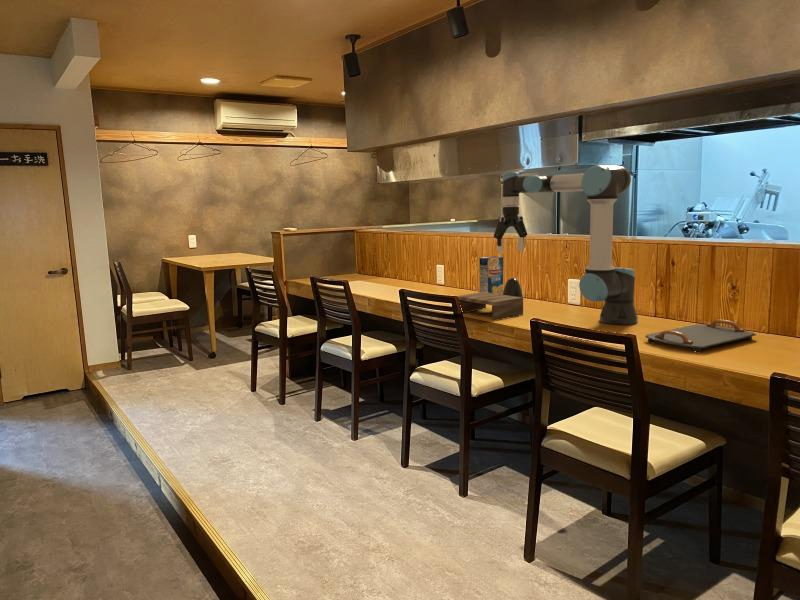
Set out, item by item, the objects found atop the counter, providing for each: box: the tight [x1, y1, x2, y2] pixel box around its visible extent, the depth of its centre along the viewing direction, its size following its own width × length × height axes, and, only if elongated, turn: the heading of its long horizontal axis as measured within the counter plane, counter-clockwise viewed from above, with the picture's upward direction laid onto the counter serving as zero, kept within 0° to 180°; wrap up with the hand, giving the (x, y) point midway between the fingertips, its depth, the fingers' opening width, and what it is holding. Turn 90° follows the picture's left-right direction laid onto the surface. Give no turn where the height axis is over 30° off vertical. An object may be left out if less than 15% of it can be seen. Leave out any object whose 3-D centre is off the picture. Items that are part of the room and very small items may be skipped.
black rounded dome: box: [503, 277, 524, 299], centre depth 290 cm, size 10×10×15 cm
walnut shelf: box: [456, 291, 524, 321], centre depth 280 cm, size 26×18×8 cm
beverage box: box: [478, 256, 504, 295], centre depth 324 cm, size 7×11×22 cm, turn 124°
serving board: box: [644, 319, 757, 353], centre depth 218 cm, size 39×23×6 cm, turn 121°
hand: (510, 252), depth 282 cm, fingers open, 13 cm apart
